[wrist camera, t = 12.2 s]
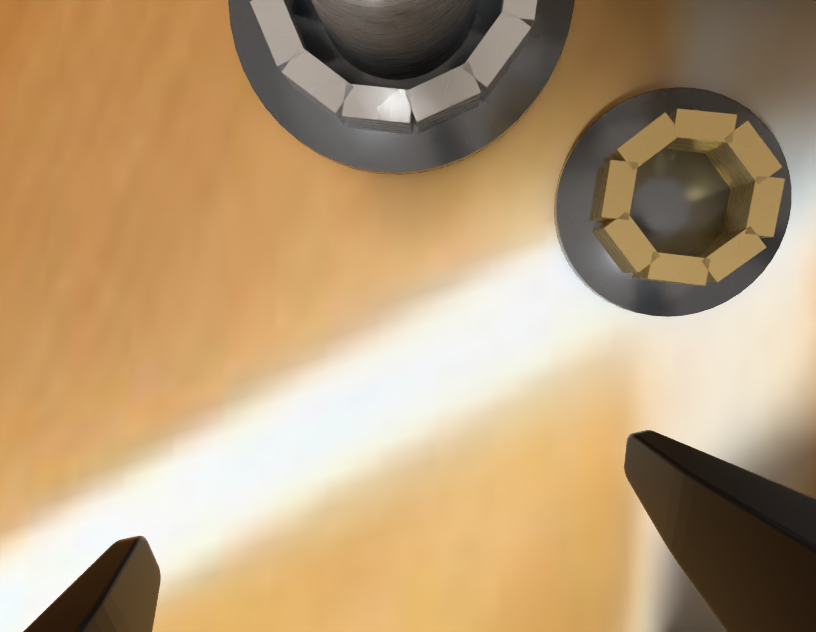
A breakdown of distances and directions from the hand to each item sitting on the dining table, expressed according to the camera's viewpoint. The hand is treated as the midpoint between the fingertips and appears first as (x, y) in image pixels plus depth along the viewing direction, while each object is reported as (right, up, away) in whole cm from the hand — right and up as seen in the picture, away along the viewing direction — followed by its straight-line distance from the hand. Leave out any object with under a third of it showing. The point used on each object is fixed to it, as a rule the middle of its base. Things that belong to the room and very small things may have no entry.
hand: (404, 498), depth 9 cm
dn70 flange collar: (0, +16, +11) cm, 20 cm away
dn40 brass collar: (+11, +8, +11) cm, 17 cm away
